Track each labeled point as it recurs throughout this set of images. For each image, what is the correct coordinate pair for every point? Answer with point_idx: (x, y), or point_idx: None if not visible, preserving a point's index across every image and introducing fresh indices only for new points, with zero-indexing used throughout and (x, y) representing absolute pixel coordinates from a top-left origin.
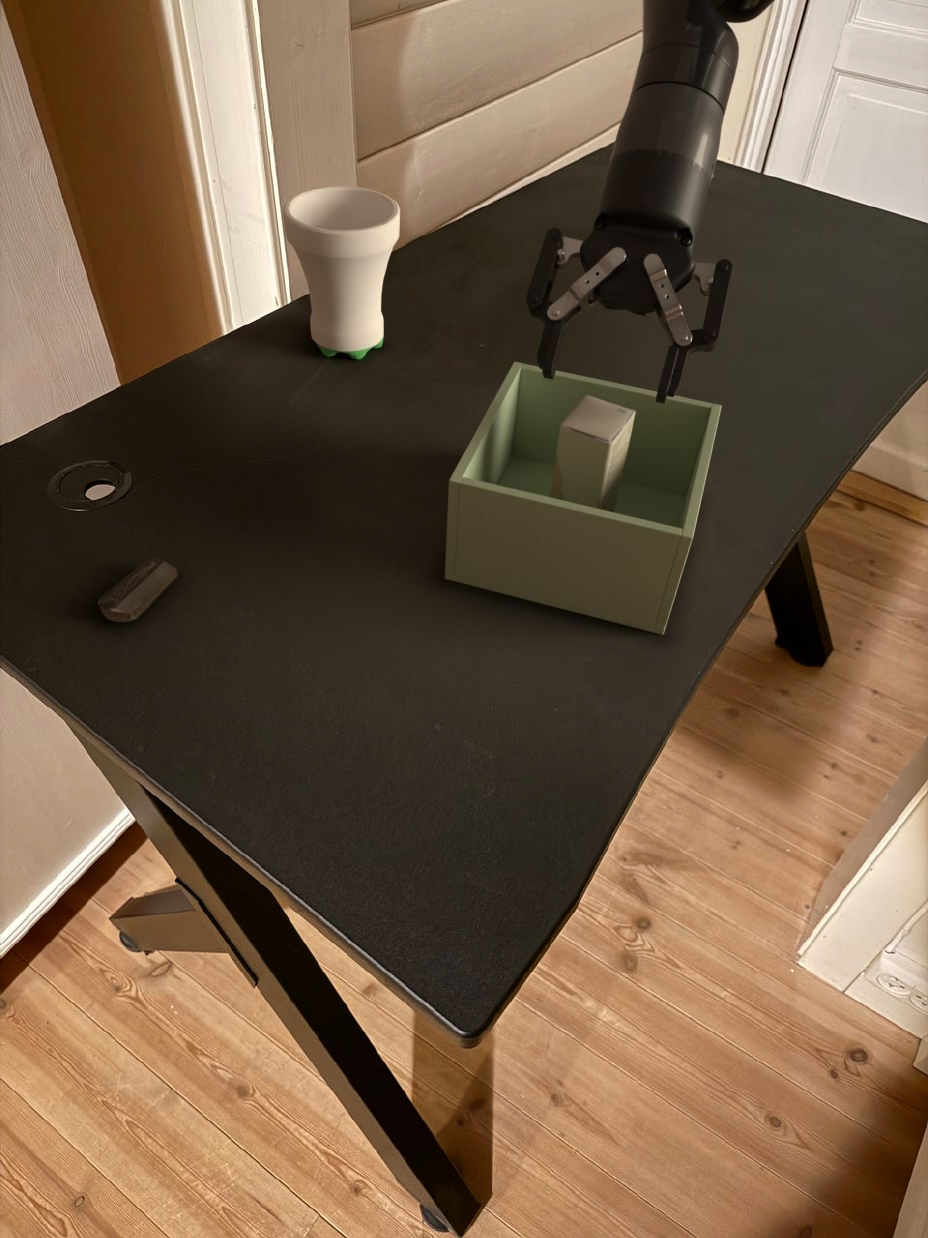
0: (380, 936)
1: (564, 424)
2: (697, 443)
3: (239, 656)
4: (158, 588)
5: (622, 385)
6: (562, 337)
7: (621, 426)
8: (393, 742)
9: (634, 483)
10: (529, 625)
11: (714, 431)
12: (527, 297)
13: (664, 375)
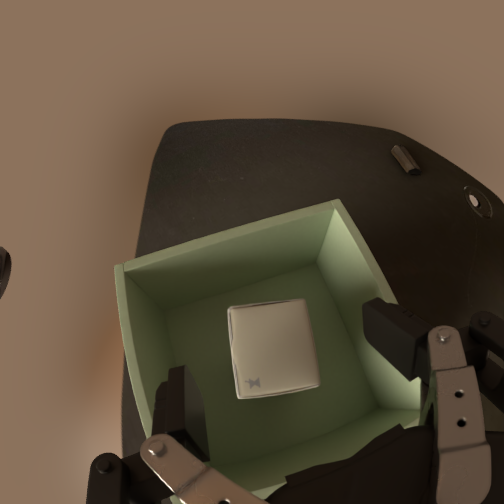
0: (206, 123)
1: (300, 301)
2: None
3: (347, 160)
4: (401, 161)
5: None
6: (402, 357)
7: (234, 348)
8: (253, 163)
9: (260, 456)
10: None
11: None
12: (490, 314)
13: (179, 385)
